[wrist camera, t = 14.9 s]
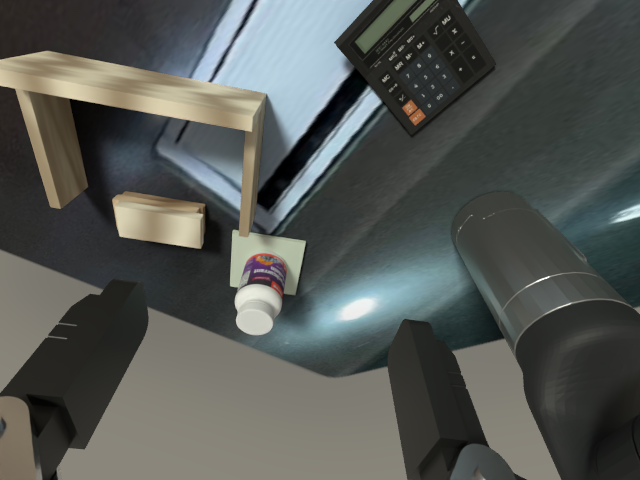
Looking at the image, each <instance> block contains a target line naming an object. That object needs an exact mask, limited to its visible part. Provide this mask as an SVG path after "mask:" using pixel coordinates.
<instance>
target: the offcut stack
mask: <svg viewBox="0 0 640 480" xmlns="http://www.w3.org/2000/svg"><path fill="white" fill-rule="evenodd" d="M112 200H113V206H114V212H115V218H116V224H117V230H119V235H120V237H126V238H133V239H140V240H146V241H153V242H159V243H166V244H172V245H179V246H186V247H192V248H199V249H201V247H202V245H203V235H204V233H205V204H201V203H194V202H188V201H182V200H176V199H170V198H164V197H158V196H152V195H146V194H140V193H134V192H128V191H125V192H124V193H123V194H122V195H116V196H115V197H114V198H113V199H112Z"/></svg>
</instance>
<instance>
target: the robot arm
mask: <svg viewBox="0 0 640 480" xmlns="http://www.w3.org/2000/svg"><path fill="white" fill-rule="evenodd" d="M451 235H452V240H453V242H454V244H455V246H456V248H457V250H458V252H459V254H460V255H461V257H462V259H463V261H464V263H465V265H466V267H467V269H468V271H469V273H470V274H471V276H472V278H473V280H474V282H475V284H476V286H477V287H478V289H479V291H480V293H481V295H482V297H483V299H484V301H485V302H486V304H487V306H488V308H489V310H490V312H491V314H492V315H493V317H494V319H495V321H496V323H497V325H498V327H499V328H500V330H501V332H502V334H503V336H504V338H505V339H506V341H507V343H508V345H509V347H510V349H511V351H512V352H513V354H514V356H515V358H516V360H517V362H518V363H519V365H520V367H521V369H522V372H523V379H524V391H525V396H526V399H527V402H528V405H529V408H530V410H531V412H532V414H533V417H534V419H535V421H536V423H537V425H538V428H539V430H540V432H541V434H542V436H543V439H544V441H545V443H546V446H547V448H548V450H549V453H550V455H551V457H552V459H553V462H554V464H555V466H556V468H557V471H558V473H559V475H560V477H561V480H640V314H639V313H638V312H637V311H636V310H635V309H633V308H632V307H631V306H630V305H629V304H628V303H627V302H626V301H625V300H624V299H623V298H622V297H621V296H620V295H619V294H618V293H617V292H616V291H615V290H614V289H613V288H612V287H611V286H610V285H609V284H608V283H607V282H606V281H605V280H604V279H603V278H602V277H601V276H600V275H599V274H598V273H597V272H596V271H595V270H594V269H593V268H592V267H591V266H590V265H589V264H588V263H587V259H586V257H585V256H584V255H583V254H582V253H581V252H580V251H579V250H578V249H577V248H576V247H575V246H574V245H573V244H572V243H571V242H570V241H569V240H568V239H567V238H566V237H565V236H564V235H563V234H562V233H561V232H560V231H559V230H558V229H557V228H555V227H554V226H553V225H552V224H551V223H550V222H549V221H548V220H547V219H546V218H545V217H544V216H543V215H542V214H541V213H540V212H539V211H538V210H536V209H533V208H532V207H531V206H530V205H529V204H528V203H527V202H526V201H525V200H524V199H523V198H521V197H520V196H518V195H516V194H514V193H509V192H493V193H488V194H485V195H482V196H480V197H478V198H476V199H474V200H472V201H471V202H469V203H468V204H467V205H466V206H464V207H463V208H462V210H461V211H460V212H459V213H458V214H457V216H456V218H455V219H454V222H453V225H452V230H451ZM147 326H148V310H147V303H146V296H145V289H144V285H143V283H142V282H136V281H129V280H121V279H113V280H111V281H110V282H109V284H108V285H107V286H106V288H105V289H104V290H103V292H102V293H101V294H100V295H94V294H89V295H88V296H86V297H85V298H83V299H82V300H80V301H79V302H77V303H76V304H74V305H73V306H72V307H71V308H70V309H69V310H68V311H67V313H66V314H65V315H64V316H63V317H62V319H61V320H60V321H59V324H58V325H56V326H55V327H54V329H53V330H52V331H51V332H50V333H49V335H48V338H45V339H44V341H43V342H42V343H41V344H40V346H39V347H38V348H37V349H36V351H35V352H34V353H33V354H32V356H31V357H30V358H29V359H28V360H27V361H26V363H25V364H24V365H23V367H22V368H21V369H20V370H19V371H18V373H17V374H16V375H15V376H14V377H13V379H12V380H11V381H10V382H9V384H8V385H7V386H6V387H5V388H4V389H3V391H2V392H1V393H0V480H62V478H61V472H60V466H59V464H60V462H61V460H62V459H63V457H64V455H65V453H66V451H67V450H68V448H76V449H85V448H86V446H87V444H88V442H89V440H90V438H91V436H92V435H93V433H94V431H95V429H96V427H97V425H98V423H99V421H100V419H101V417H102V415H103V414H104V412H105V410H106V408H107V406H108V404H109V402H110V400H111V399H112V397H113V395H114V393H115V391H116V389H117V387H118V385H119V383H120V382H121V380H122V378H123V376H124V374H125V372H126V370H127V368H128V367H129V364H130V363H131V361H132V359H133V357H134V355H135V353H136V351H137V349H138V347H139V346H140V344H141V342H142V340H143V338H144V336H145V333H146V330H147ZM388 372H389V377H390V383H391V389H392V394H393V400H394V406H395V412H396V417H397V423H398V429H399V434H400V440H401V446H402V451H403V457H404V463H405V468H406V474H407V479H408V480H526V479H524V478H522V477H520V476H518V475H516V474H515V473H513V471H512V470H511V468H510V467H509V465H508V464H507V463H506V461H505V460H504V459H503V458H502V457H501V456H500V455H499V454H498V453H496V452H495V451H494V450H492V449H491V448H490V447H489V445H488V443H487V441H486V438H485V436H484V433H483V430H482V428H481V425H480V422H479V419H478V417H477V414H476V411H475V409H474V406H473V403H472V401H471V398H470V395H469V392H468V390H467V389H466V385H465V382H464V379H463V376H462V375H461V371H460V368H459V365H458V363H457V360H456V357H455V355H454V354H453V353H452V352H451V350H450V349H449V348H448V346H447V345H446V344H445V342H444V341H437V340H436V339H435V336H434V333H433V330H432V327H431V325H430V324H429V323H428V322H423V321H415V320H408V319H404V320H403V321H402V323H401V325H400V327H399V330H398V332H397V334H396V336H395V338H394V340H393V342H392V344H391V347H390V349H389V353H388Z"/></svg>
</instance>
